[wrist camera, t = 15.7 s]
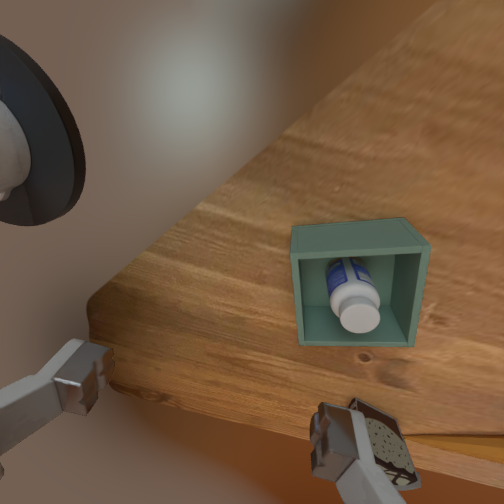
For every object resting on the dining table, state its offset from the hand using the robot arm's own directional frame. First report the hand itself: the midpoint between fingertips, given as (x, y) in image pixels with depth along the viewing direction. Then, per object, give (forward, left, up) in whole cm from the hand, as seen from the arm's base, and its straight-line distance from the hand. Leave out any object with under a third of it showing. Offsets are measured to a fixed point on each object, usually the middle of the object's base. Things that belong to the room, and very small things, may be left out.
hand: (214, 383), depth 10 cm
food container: (+27, -38, -27) cm, 54 cm away
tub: (+12, -8, -27) cm, 30 cm away
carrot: (+43, -36, -27) cm, 63 cm away
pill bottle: (+12, -8, -26) cm, 30 cm away
